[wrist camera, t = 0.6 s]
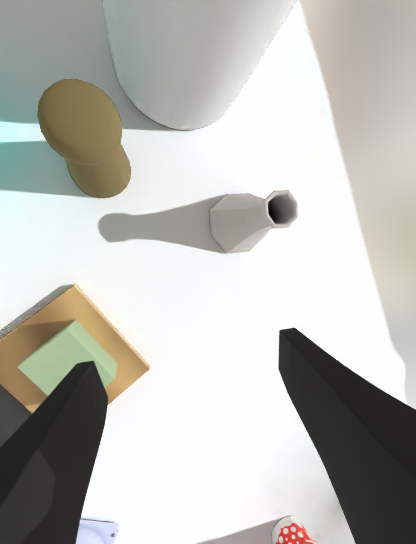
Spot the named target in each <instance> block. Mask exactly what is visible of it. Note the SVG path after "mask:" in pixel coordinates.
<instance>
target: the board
mask: <svg viewBox="0 0 416 544" xmlns="http://www.w3.org/2000/svg"><path fill="white" fill-rule="evenodd" d="M74 320H77V321H78V322H79V323H80V324H81V325H82V326H83V327H84V328H85V329H86V330H87V331H88V333H89V334H90V335H91V336H92V337H93V338H94V339H95V340H96V341H97V342H98V343H99V344H100V345H101V346H102V347H103V348H104V350H105V351H106V352H107V353H108V354H109V355H110V356H111V357H112V358H113V359H114V360H115V361H116V362H117V363H118V365H117V370H116V376H115V379H114V380H113V381H112V382H110V383H109V384H108V385H107V386H106V387H105V390H106V393H107V395H108V404H109V403H110V402H112V401H113V400H114V399H115V398H116V397H117V396H119V395H120V394H121V393H122V392H123V391H124V390H126V389H127V388H128V387H129V386H130V385H131V384H133V383H134V382H135V381H136V380H137V379H138V378H140V377H141V376H142V375H143V374H144V373H145V372H147V371H148V370H149V365H148V363H147V362H146V361H145V360H144V359H143V358H142V357H141V356H140V355H139V354H138V352H137V351H136V350H135V349H134V348H133V347H132V346H131V345H130V344H129V343H128V341H127V340H126V339H125V338H124V337H123V336H122V335H121V334H120V333H119V331H118V330H117V329H116V328H115V327H114V326H113V325H112V324H111V323H110V322H109V320H108V319H107V318H106V317H105V316H104V315H103V314H102V313H101V312H100V310H99V309H98V308H97V307H96V306H95V305H94V304H93V303H92V302H91V301H90V299H89V298H88V297H87V296H86V295H85V294H84V293H83V292H82V291H81V290H80V288H79V287H78V286H77V285H73V286H72V287H71V288H69V289H68V290H67V291H65V292H64V293H63V294H61V295H60V296H58V297H57V298H56V299H54V300H53V301H52V302H50V303H49V304H48V305H46V306H45V307H44V308H42V309H41V310H40V311H38V312H37V313H36V314H34V315H33V316H31V317H30V318H29V319H27V320H26V321H25V322H23V323H22V324H21V325H19V326H18V327H17V328H15V329H14V330H13V331H11V332H10V333H9V334H7V335H6V336H5V337H3V338H2V339H0V447H1V446H2V445H3V444H4V443H5V442H6V441H7V440H8V439H9V438H10V437H11V436H12V435H13V433H14V432H15V431H16V430H17V429H18V428H19V427H20V426H21V425H22V424H23V423H24V422H25V421H26V420H27V419H28V418H29V417H30V416H31V415H32V413H33V412H34V411H35V410H36V409H37V408H38V407H39V406H40V404H41V403H42V402H43V401H44V400H45V399H46V398H47V397H48V396H47V395H46V394H45V393H44V392H43V391H42V390H41V389H40V388H39V387H37V386H36V385H35V384H34V383H33V382H32V381H31V380H30V379H29V378H28V377H27V376H26V375H25V374H24V373H23V372H22V371H20V370H19V369H18V368H17V367H18V366H19V365H20V364H21V363H22V362H23V361H24V360H25V359H26V358H27V357H28V356H29V355H31V354H32V353H33V352H34V351H35V350H37V349H38V348H39V347H40V346H42V345H43V344H44V343H46V342H47V341H48V340H50V339H51V338H52V337H53V336H55V335H56V334H57V333H59V332H60V331H61V330H63V329H64V328H65V327H66V326H68V325H69V324H70V323H72V322H73V321H74Z"/></svg>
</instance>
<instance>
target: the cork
mask: <svg viewBox="0 0 416 544" xmlns="http://www.w3.org/2000/svg"><path fill="white" fill-rule="evenodd" d="M37 115H38V119H39V124H40V128H41V132H42V133H43V135H44V137H45V138H46V140H47V142H48V143H49V145H50V146H51V147H52V148H53V149H54V150H55V151H56V152H57V153H58V154H60V155H61V156H62V157H64V158H65V161H66V164H67V167H68V170H69V173H70V176H71V178H72V179H73V181H74V183H75V184H76V186H78V187H79V188H80V189H81V190H82V191H83V192H85V193H87V194H89V195H91V196H93V197H98V198H108V197H113V196H115V195H117V194H119V193H121V192H122V191H123V190H124V189H125V188H126V187H127V185H128V183H129V180H130V176H131V167H130V162H129V160H128V158H127V156H126V154H125V152H124V149H123V147H122V145H121V136H122V126H121V121H120V116H119V113H118V112H117V110H116V108H115V106H114V104H113V102H112V101H111V99H110V98H109V97H108V96H107V95H106V94H105V93H104V92H103V91H102V90H100V89H99V88H97V87H96V86H94V85H92V84H91V83H88V82H84V81H81V80H77V79H65V80H62V81H59V82H56V83H54V84H53V85H51V86H50V87H49V88H48V89H47V90H45V91H44V93H43V95H42V97H41V99H40V101H39V105H38V114H37Z"/></svg>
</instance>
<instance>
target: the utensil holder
mask: <svg viewBox="0 0 416 544" xmlns="http://www.w3.org/2000/svg"><path fill="white" fill-rule="evenodd" d="M296 2H297V0H102V4H103V10H104V16H105V22H106V27H107V32H108V38H109V43H110V48H111V53H112V58H113V63H114V67H115V71H116V74H117V77H118V79H119V81H120V84H121V86H122V88H123V90H124V91H125V93H126V94H127V96H128V97H129V99H130V100H131V101H132V103H133V104H134V105H135V106H136V107H137V108H138V109H139V110H140V111H141V112H142V113H144V114H145V115H146V116H148V117H149V118H151V119H152V120H154V121H156V122H157V123H160V124H162V125H164V126H167V127H170V128H174V129H180V130H193V129H199V128H203V127H205V126H208V125H210V124H212V123H213V122H215V121H216V120H218V119H219V118H220V117H221V116H222V115H223V114H224V113H225V112H226V111H227V110H228V108H229V107H230V106H231V104H232V103H233V101H234V100H235V98H236V97H237V95H238V94H239V92H240V91H241V89H242V88H243V86H244V85H245V83H246V82H247V80H248V79H249V77H250V75H251V74H252V72H253V71H254V69H255V67H256V66H257V64H258V63H259V61H260V59H261V58H262V56H263V54H264V53H265V51H266V49H267V48H268V46H269V44H270V43H271V41H272V40H273V38H274V36H275V35H276V33H277V32H278V30H279V29H280V27H281V26H282V24H283V22H284V21H285V19H286V18H287V16H288V15H289V13H290V11H291V10H292V8H293V6H294V5H295V3H296Z"/></svg>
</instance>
